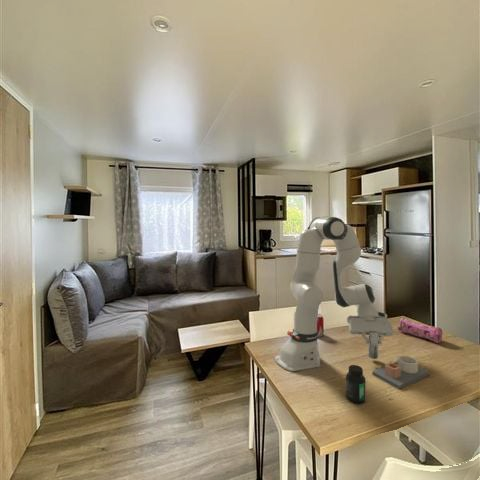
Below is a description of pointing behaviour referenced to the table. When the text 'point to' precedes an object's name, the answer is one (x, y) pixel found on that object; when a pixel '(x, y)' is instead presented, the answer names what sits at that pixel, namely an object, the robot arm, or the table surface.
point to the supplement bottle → (355, 385)
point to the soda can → (320, 325)
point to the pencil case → (421, 330)
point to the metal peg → (373, 344)
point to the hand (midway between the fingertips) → (374, 343)
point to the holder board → (401, 372)
